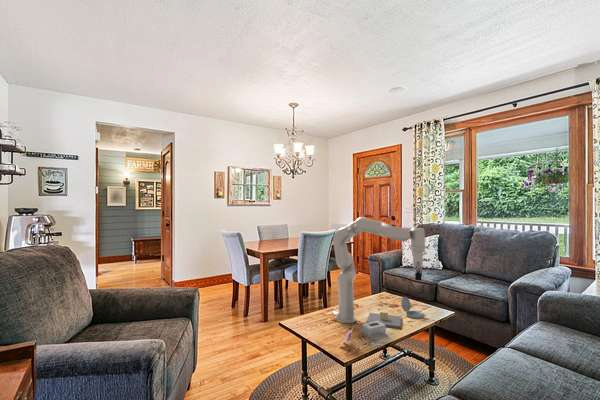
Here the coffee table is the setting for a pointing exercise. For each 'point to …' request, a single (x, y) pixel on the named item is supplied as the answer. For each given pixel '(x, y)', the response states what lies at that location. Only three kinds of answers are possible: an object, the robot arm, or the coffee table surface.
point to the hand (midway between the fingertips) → (418, 278)
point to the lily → (348, 337)
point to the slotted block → (374, 329)
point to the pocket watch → (406, 307)
